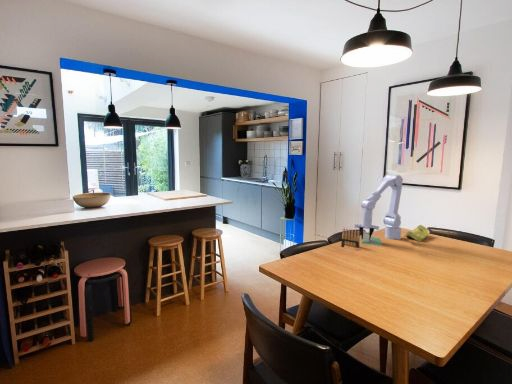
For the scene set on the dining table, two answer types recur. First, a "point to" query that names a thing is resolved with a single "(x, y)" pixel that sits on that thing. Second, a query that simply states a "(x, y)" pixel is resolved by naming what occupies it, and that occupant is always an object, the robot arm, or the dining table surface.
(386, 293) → the dining table surface
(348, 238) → the ammunition clip
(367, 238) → the plug housing
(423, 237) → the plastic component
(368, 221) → the robot arm
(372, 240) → the header board
